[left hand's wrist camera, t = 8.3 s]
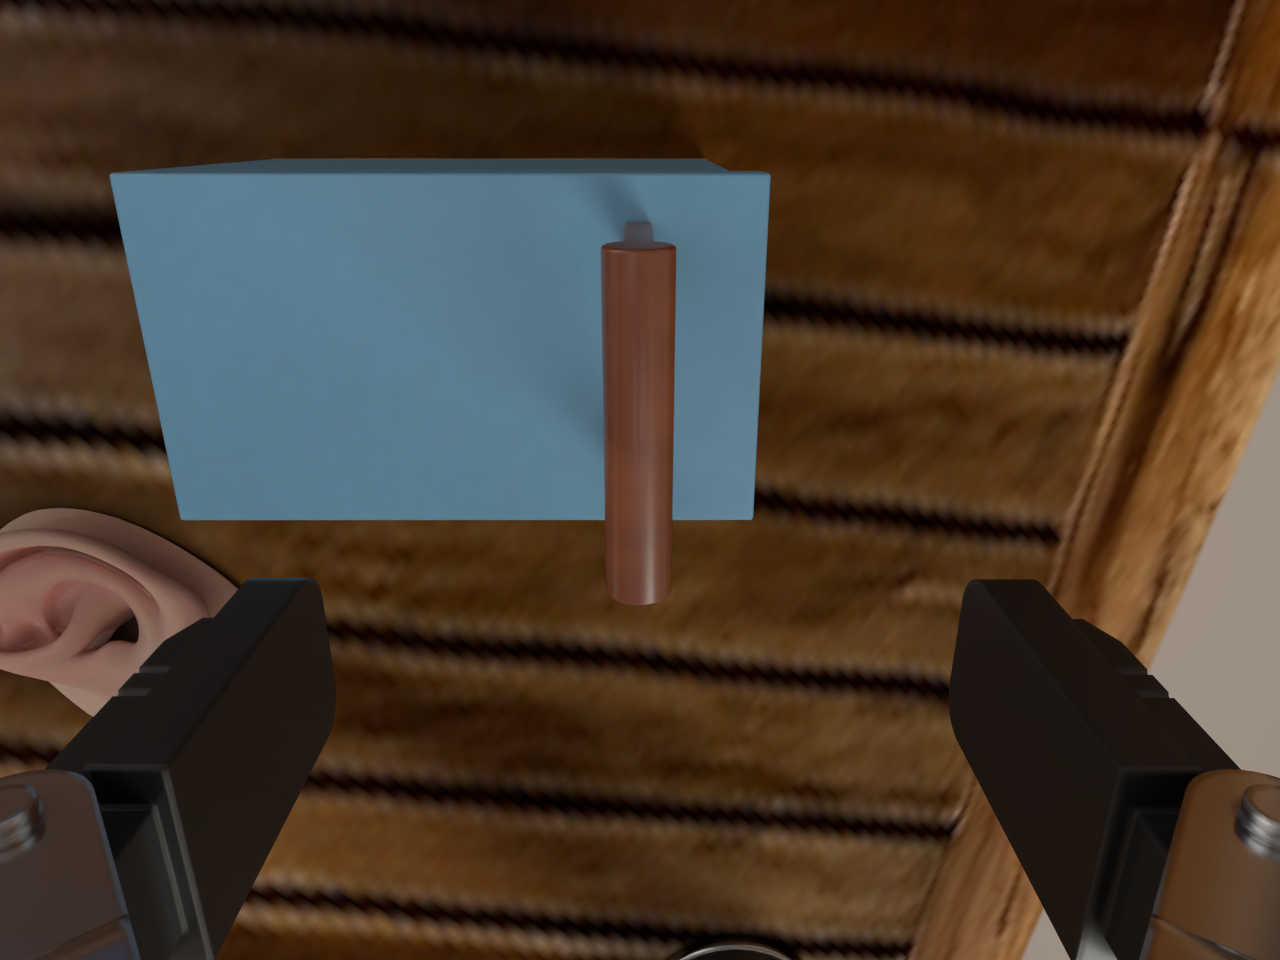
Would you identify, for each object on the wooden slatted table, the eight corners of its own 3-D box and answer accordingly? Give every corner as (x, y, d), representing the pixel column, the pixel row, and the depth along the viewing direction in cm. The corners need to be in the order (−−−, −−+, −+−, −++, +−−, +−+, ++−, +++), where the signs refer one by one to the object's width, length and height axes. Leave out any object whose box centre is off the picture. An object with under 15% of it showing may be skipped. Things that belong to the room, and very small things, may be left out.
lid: (765, 171, 24) (823, 190, 16) (748, 505, 28) (790, 648, 20) (130, 171, 24) (-103, 190, 16) (197, 506, 28) (31, 648, 20)
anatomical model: (280, 747, 39) (65, 829, 41) (312, 693, 43) (113, 771, 44) (97, 490, 35) (-136, 594, 36) (150, 455, 38) (-64, 551, 40)
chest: (705, 158, 34) (733, 170, 24) (699, 405, 38) (721, 505, 28) (279, 157, 34) (131, 170, 24) (314, 405, 38) (198, 505, 28)
